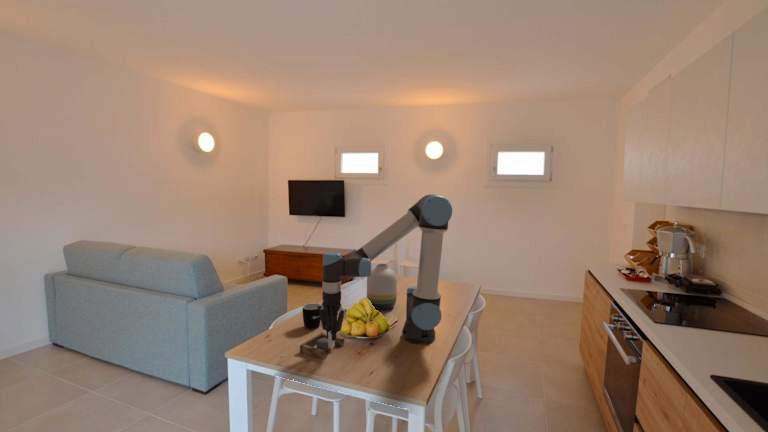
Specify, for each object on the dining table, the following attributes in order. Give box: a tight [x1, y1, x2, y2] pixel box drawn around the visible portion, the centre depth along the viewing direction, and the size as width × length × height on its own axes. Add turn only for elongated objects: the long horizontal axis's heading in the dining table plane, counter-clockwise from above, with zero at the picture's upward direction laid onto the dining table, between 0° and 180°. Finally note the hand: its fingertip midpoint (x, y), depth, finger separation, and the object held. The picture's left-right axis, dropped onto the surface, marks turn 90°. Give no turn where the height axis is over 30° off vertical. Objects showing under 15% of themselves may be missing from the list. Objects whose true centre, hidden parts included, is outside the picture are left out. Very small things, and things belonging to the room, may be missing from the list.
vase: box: [366, 263, 398, 310], centre depth 202 cm, size 17×17×24 cm
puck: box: [316, 338, 332, 353], centre depth 148 cm, size 6×6×4 cm
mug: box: [302, 302, 321, 330], centre depth 172 cm, size 12×9×10 cm
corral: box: [299, 332, 345, 360], centre depth 149 cm, size 12×14×3 cm
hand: (331, 347), depth 147 cm, fingers closed
